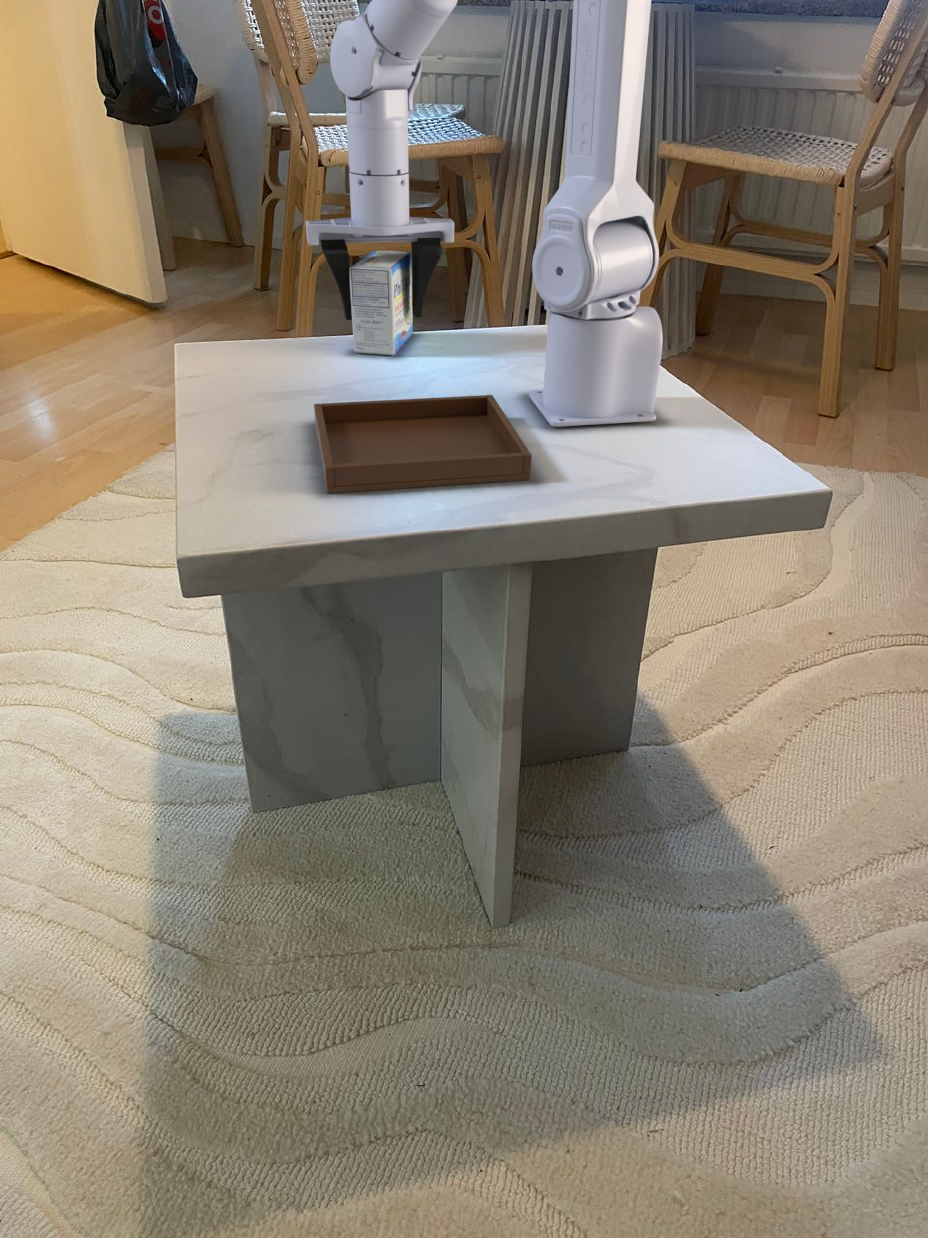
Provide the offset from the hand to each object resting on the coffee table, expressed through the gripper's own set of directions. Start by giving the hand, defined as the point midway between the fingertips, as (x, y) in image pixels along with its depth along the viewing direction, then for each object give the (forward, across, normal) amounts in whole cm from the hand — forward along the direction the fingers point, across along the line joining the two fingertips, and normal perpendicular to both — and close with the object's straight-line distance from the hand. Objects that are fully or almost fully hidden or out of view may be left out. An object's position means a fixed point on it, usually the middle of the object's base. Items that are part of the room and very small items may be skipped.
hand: (383, 316), depth 95 cm
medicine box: (+3, 0, 0) cm, 3 cm away
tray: (+3, +1, +29) cm, 29 cm away
